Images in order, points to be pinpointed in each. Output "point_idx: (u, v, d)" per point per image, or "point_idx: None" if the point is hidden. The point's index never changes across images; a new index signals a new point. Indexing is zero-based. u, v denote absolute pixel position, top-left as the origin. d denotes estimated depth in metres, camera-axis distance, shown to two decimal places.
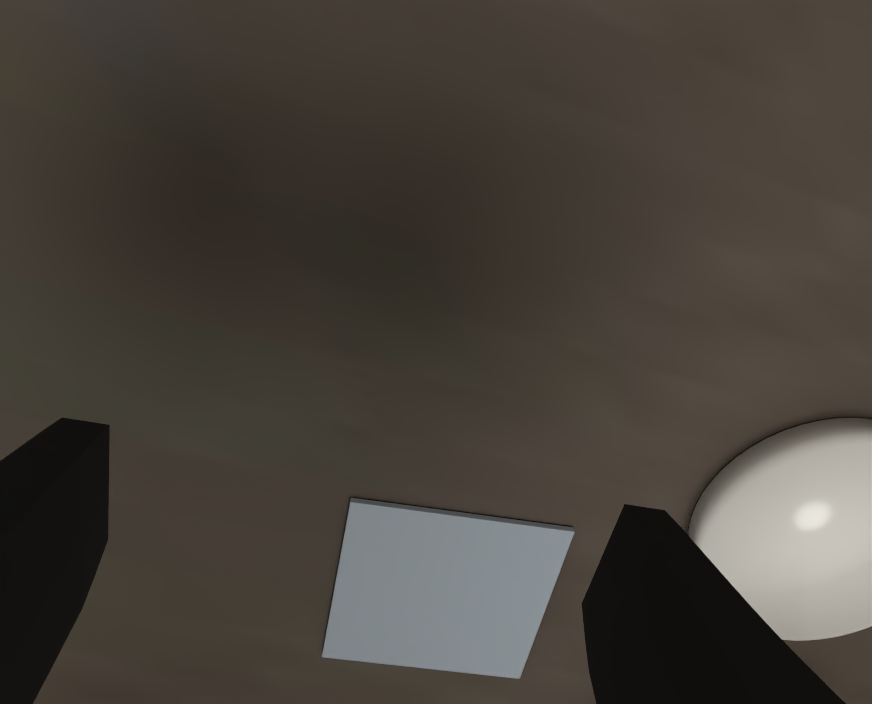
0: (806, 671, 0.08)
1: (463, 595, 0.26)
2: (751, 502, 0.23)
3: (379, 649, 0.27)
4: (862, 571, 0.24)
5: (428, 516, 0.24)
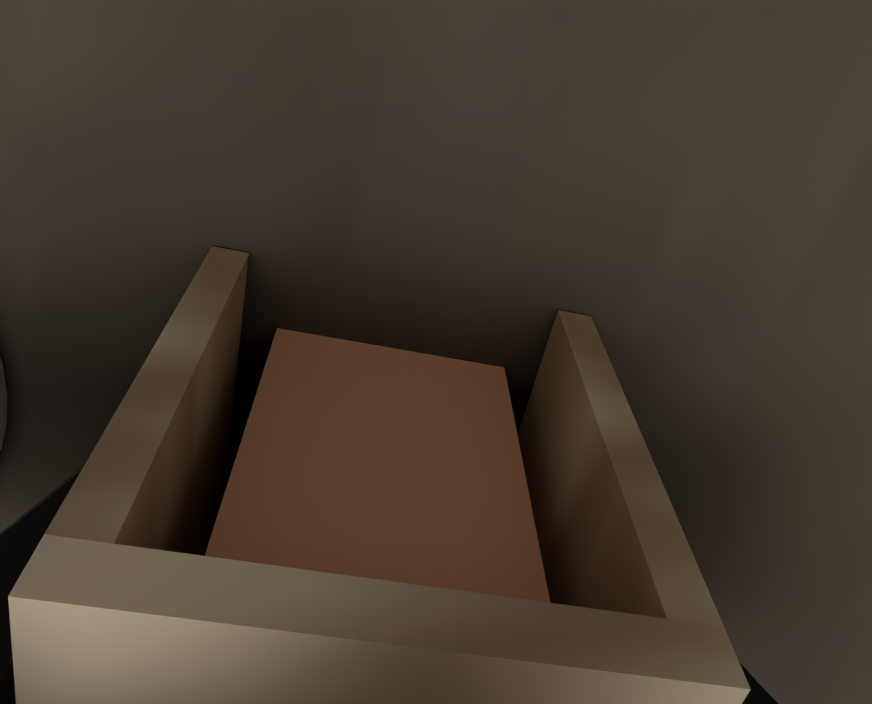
0: None
1: None
2: None
3: None
4: None
5: None
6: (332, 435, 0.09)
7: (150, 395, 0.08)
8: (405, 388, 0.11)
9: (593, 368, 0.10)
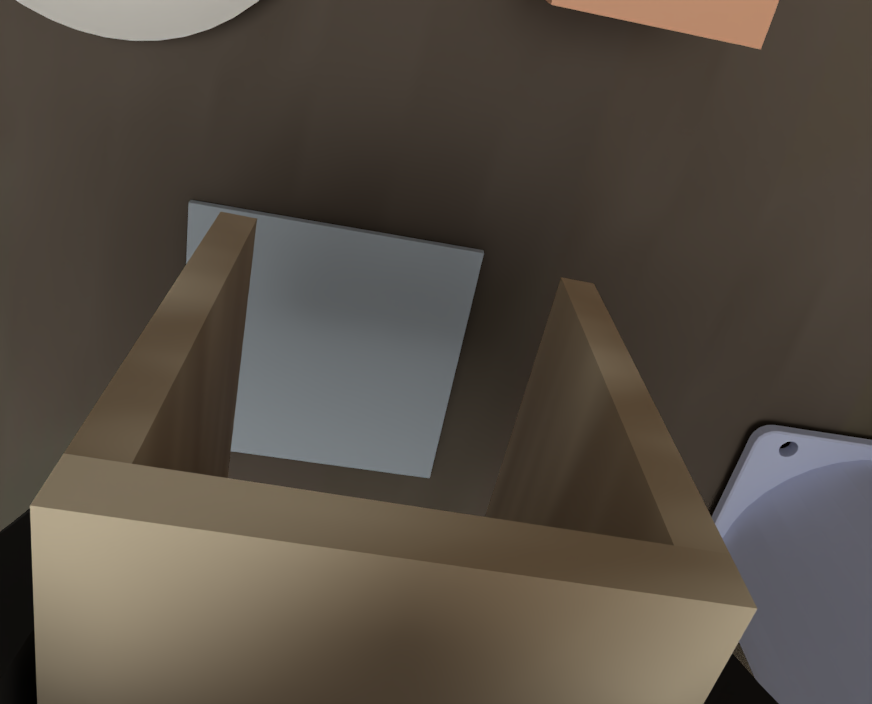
0: (732, 662, 0.08)
1: (316, 330, 0.20)
2: None
3: (417, 421, 0.21)
4: None
5: None
6: None
7: (164, 338, 0.08)
8: None
9: (597, 328, 0.10)
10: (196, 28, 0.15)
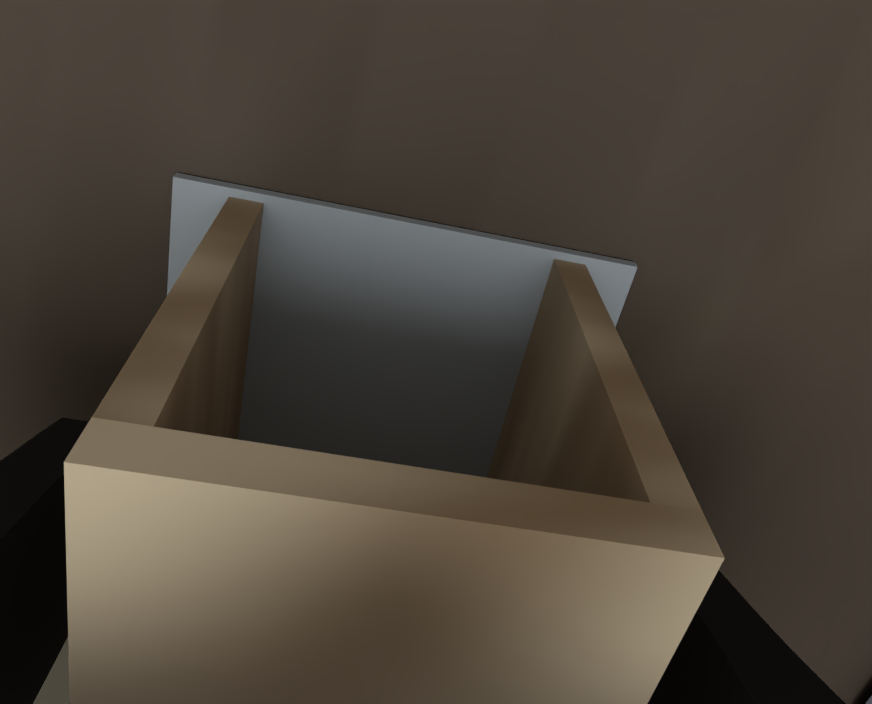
0: (806, 671, 0.08)
1: (368, 379, 0.13)
2: None
3: None
4: None
5: None
6: None
7: (179, 314, 0.08)
8: None
9: (586, 306, 0.11)
10: None
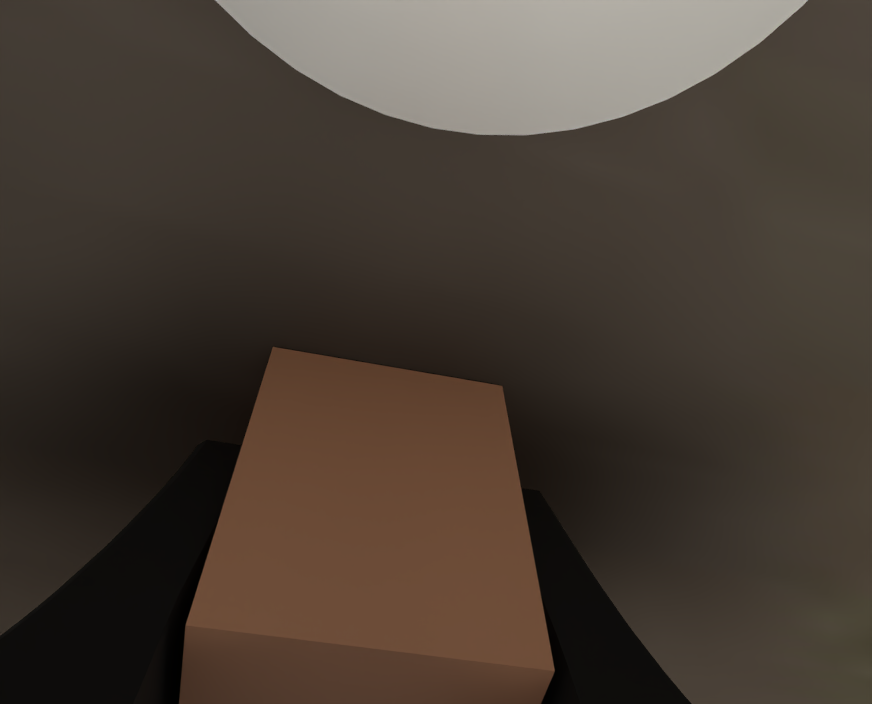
0: (639, 650, 0.08)
1: None
2: None
3: None
4: None
5: None
6: None
7: None
8: None
9: None
10: None
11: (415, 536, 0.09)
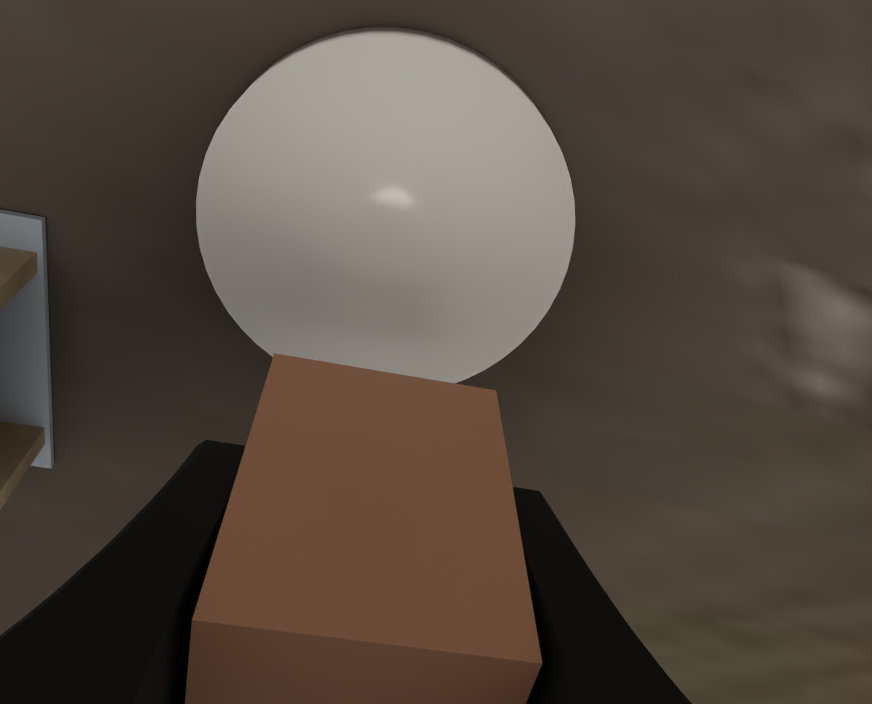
0: (640, 650, 0.08)
1: None
2: (240, 145, 0.16)
3: None
4: (440, 276, 0.17)
5: None
6: None
7: None
8: None
9: (18, 472, 0.19)
10: (214, 280, 0.17)
11: (412, 536, 0.09)
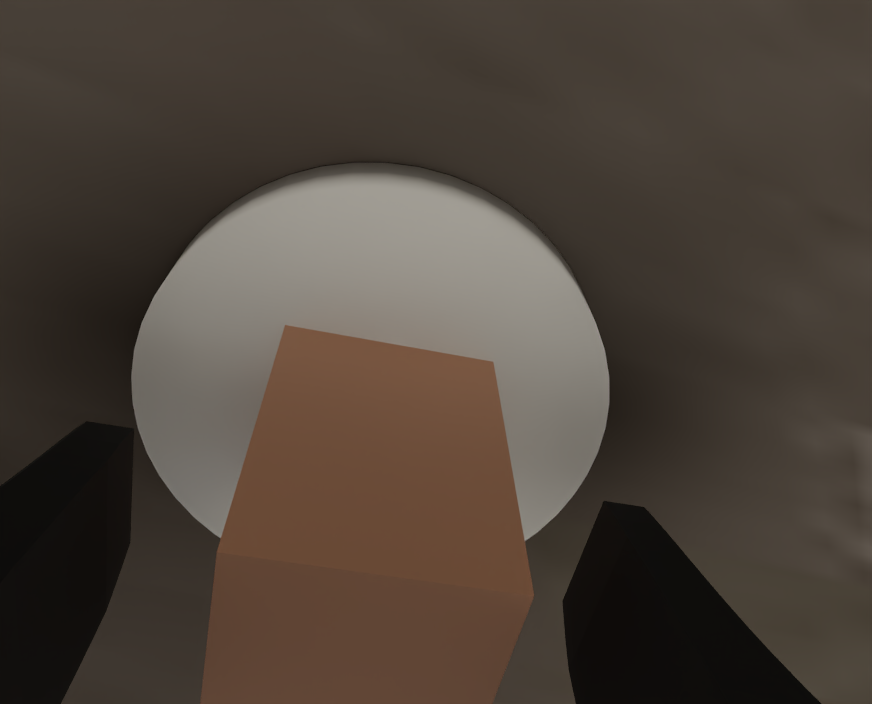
0: (779, 668, 0.08)
1: None
2: (186, 314, 0.12)
3: None
4: None
5: None
6: None
7: None
8: None
9: None
10: (158, 464, 0.14)
11: (415, 485, 0.10)
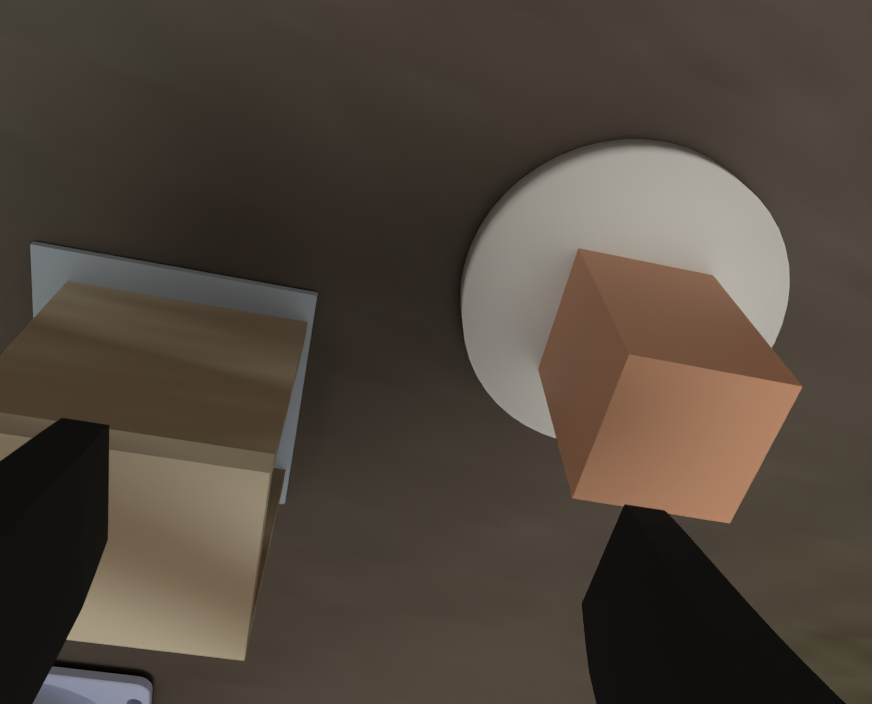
0: (806, 671, 0.08)
1: None
2: (513, 240, 0.18)
3: None
4: None
5: (132, 268, 0.20)
6: None
7: (287, 408, 0.17)
8: None
9: None
10: (470, 349, 0.20)
11: (709, 333, 0.16)
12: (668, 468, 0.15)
